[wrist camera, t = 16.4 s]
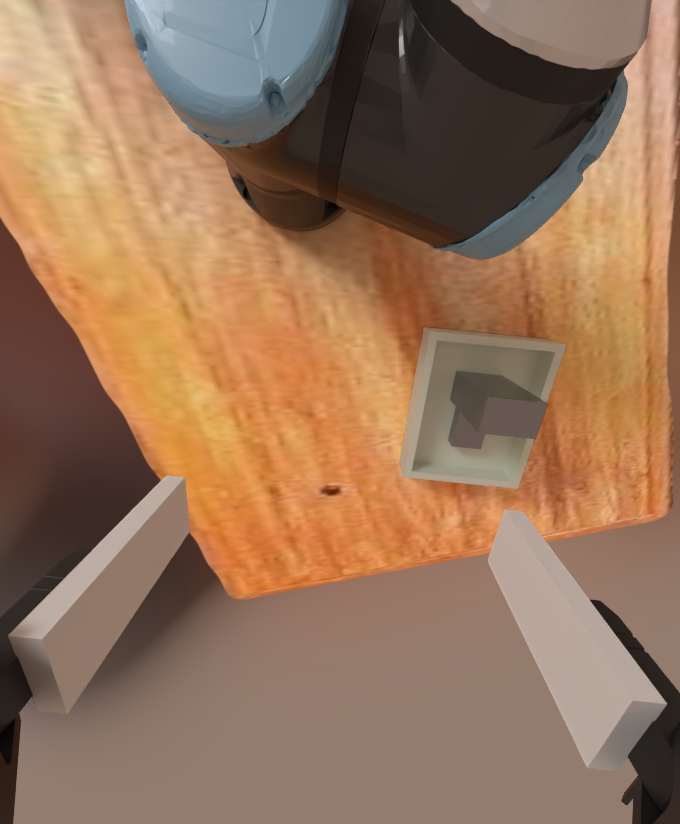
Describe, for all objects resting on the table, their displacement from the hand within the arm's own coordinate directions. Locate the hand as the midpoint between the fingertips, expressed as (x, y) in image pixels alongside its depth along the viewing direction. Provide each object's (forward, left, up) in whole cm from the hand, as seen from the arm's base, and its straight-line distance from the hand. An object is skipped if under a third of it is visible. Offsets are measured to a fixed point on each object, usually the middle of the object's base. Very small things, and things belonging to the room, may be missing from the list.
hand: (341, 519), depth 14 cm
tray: (+5, +17, -33) cm, 37 cm away
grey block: (+5, +17, -32) cm, 36 cm away
